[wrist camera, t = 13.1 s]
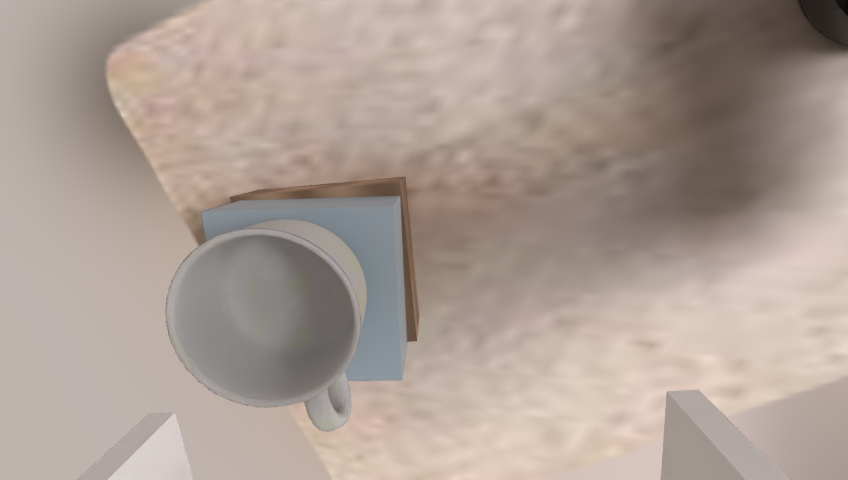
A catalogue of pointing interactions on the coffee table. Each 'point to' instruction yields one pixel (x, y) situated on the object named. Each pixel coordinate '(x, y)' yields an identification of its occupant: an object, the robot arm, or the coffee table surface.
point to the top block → (375, 251)
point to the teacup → (271, 317)
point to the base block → (362, 190)
